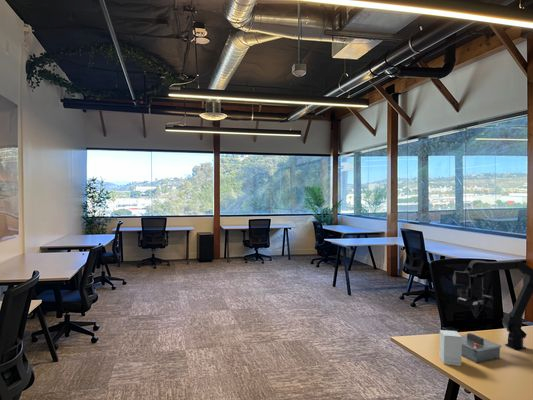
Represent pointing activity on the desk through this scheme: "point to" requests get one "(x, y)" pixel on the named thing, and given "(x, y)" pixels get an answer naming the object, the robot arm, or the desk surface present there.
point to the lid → (478, 342)
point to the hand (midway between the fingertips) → (475, 317)
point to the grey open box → (480, 354)
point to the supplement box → (450, 347)
